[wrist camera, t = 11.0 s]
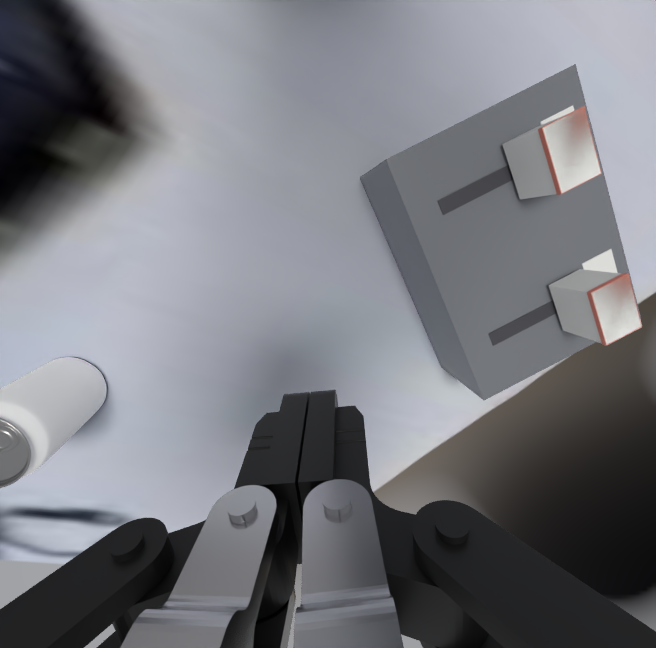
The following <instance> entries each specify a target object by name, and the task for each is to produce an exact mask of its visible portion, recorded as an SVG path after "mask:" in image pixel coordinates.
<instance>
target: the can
mask: <svg viewBox="0 0 656 648" xmlns="http://www.w3.org/2000/svg"><path fill="white" fill-rule="evenodd" d="M106 393H107V388H106V383H105V380H104V377H103V375H102V374H101V372H100V371H99V370H98V369H97V368H96V367H94V366H93V365H91V364H90V363H88V362H86V361H84V360H82V359H78V358H73V357H63V358H58V359H55V360H52V361H50V362H48V363H46V364H44V365H42V366H41V367H39V368H37V369H35V370H33V371H32V372H30V373H28V374H26V375H24V376H22V377H21V378H19V379H17V380H15V381H13V382H12V383H10V384H8V385H6V386H5V387H3V388H1V389H0V488H2V487H5V486H8V485H11V484H12V483H14V482H16V481H17V480H19V479H20V478H23V477H26V476H28V475H30V474H31V473H33V472H34V471H36V470H37V469H38V468H39V467H41V466H42V465H43V464H44V463H45V462H46V461H47V460H48V459H49V458H50V457H51V456H52V455H53V454H54V453H55V452H56V451H57V450H58V449H59V448H60V447H61V446H62V445H63V444H64V443H65V442H66V441H68V440H69V439H70V438H71V437H72V436H73V435H74V434H75V433H76V432H77V431H78V430H79V429H80V428H81V427H82V426H83V425H84V424H85V423H86V422H87V421H88V420H89V419H90V418H91V417H92V416H93V415H94V414H95V413H96V412H97V411H98V409H99V408H100V407H101V406H102V404H103V403H104V401H105V398H106Z"/></svg>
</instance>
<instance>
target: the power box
mask: <svg viewBox="0 0 656 648" xmlns="http://www.w3.org/2000/svg"><path fill="white" fill-rule="evenodd" d="M583 106H584V107H585V111H586V115H587V119H588V123H589V126H590V130H591V134H592V138H593V142H594V146H595V150H596V153H597V157H598V161H599V165H600V169H601V173H602V174H600V175H598V176H596V177H594V178H592V179H590V180H588V181H586V182H585V183H583V184H581V185H579V186H577V187H575V188H573V189H571V190H569V191H567V192H565V193H563V194H560V195H557V194H554V195H547V196H540V197H534V198H527V199H520V198H519V195H518V191H517V188H516V185H515V182H514V179H513V176H512V173H511V170H510V167H509V164H508V160H507V157H506V154H505V151H504V148H503V145H502V144H504V143H506V142H508V141H510V140H512V139H514V138H516V137H518V136H520V135H522V134H524V133H526V132H528V131H530V130H532V129H534V128H535V127H538V126H540V125H542V124H545V123H547V122H550V121H552V120H554V119H557V118H559V117H562V116H564V115H566V114H569V113H571V112H573V111H575V110H577V109H579V108H581V107H583ZM360 179H361V181H362V184H363V186H364V188H365V191H366V193H367V195H368V198H369V200H370V202H371V205H372V207H373V209H374V212H375V214H376V216H377V219H378V221H379V223H380V226H381V228H382V230H383V232H384V235H385V237H386V239H387V242H388V244H389V246H390V249H391V251H392V253H393V256H394V258H395V260H396V263H397V265H398V267H399V270H400V272H401V274H402V277H403V279H404V281H405V284H406V286H407V288H408V291H409V293H410V295H411V298H412V300H413V302H414V304H415V307H416V309H417V311H418V314H419V316H420V318H421V321H422V323H423V325H424V328H425V330H426V332H427V335H428V337H429V339H430V342H431V344H432V346H433V349H434V351H435V353H436V356H437V358H438V360H439V363H440V365H441V367H442V368H443V369H445V370H446V371H447V372H448V373H450V374H451V375H452V376H454V377H455V378H456V379H457V380H459V381H460V382H461V383H463V384H464V385H465V386H466V387H468V388H469V389H470V390H471V391H473V392H474V393H475V394H477V395H478V396H479V397H480V398H482V399H483V400H486V399H488V398H489V397H491V396H493V395H495V394H497V393H499V392H501V391H503V390H505V389H507V388H509V387H511V386H513V385H514V384H516V383H518V382H520V381H522V380H524V379H526V378H528V377H530V376H532V375H534V374H536V373H537V372H539V371H541V370H543V369H545V368H547V367H549V366H551V365H553V364H555V363H557V362H559V361H560V360H562V359H564V358H566V357H568V356H570V355H572V354H574V353H576V352H578V351H580V350H582V349H583V348H585V347H587V346H589V345H591V344H593V343H595V342H597V341H593V340H590V339H587V338H584V337H581V336H578V335H575V334H572V333H569V332H566V331H563V329H562V326H561V323H560V320H559V316H558V313H557V310H556V307H555V304H554V301H553V298H552V295H551V292H550V289H549V285H550V284H552V283H554V282H556V281H558V280H560V279H562V278H564V277H566V276H568V275H570V274H571V273H573V272H575V271H577V270H579V269H583V270H593V271H602V272H611V273H621V274H622V273H628V274H629V278H630V281H631V277H630V273H629V270H628V266H627V262H626V258H625V254H624V250H623V246H622V242H621V239H620V235H619V231H618V227H617V223H616V219H615V215H614V212H613V208H612V204H611V200H610V196H609V192H608V188H607V184H606V181H605V177H604V173H603V169H602V165H601V161H600V157H599V153H598V150H597V146H596V142H595V138H594V134H593V130H592V126H591V122H590V119H589V115H588V111H587V107H586V103H585V99H584V95H583V91H582V88H581V84H580V80H579V76H578V72H577V68H576V64H575V65H573V66H571V67H569V68H567V69H565V70H563V71H561V72H559V73H557V74H555V75H553V76H551V77H549V78H547V79H545V80H543V81H541V82H539V83H537V84H535V85H533V86H531V87H529V88H527V89H525V90H523V91H521V92H519V93H517V94H515V95H513V96H511V97H509V98H507V99H505V100H503V101H501V102H499V103H498V104H496V105H494V106H492V107H490V108H488V109H486V110H484V111H482V112H480V113H478V114H476V115H474V116H472V117H470V118H468V119H466V120H464V121H462V122H460V123H458V124H456V125H454V126H452V127H450V128H448V129H446V130H444V131H442V132H440V133H438V134H436V135H434V136H432V137H430V138H428V139H426V140H424V141H422V142H420V143H418V144H416V145H414V146H412V147H410V148H408V149H406V150H404V151H402V152H400V153H398V154H396V155H394V156H392V157H390V158H388V159H386V160H385V161H383V162H382V163H380V164H379V165H378V166H376V167H375V168H373V169H372V170H370V171H369V172H367V173H366V174H364V175H363V176H361V177H360ZM631 285H632V281H631ZM632 289H633V285H632ZM633 293H634V289H633ZM634 297H635V293H634ZM635 301H636V297H635ZM636 305H637V308H638V304H637V301H636ZM638 312H639V308H638ZM639 316H640V313H639ZM640 319H641V316H640Z"/></svg>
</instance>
